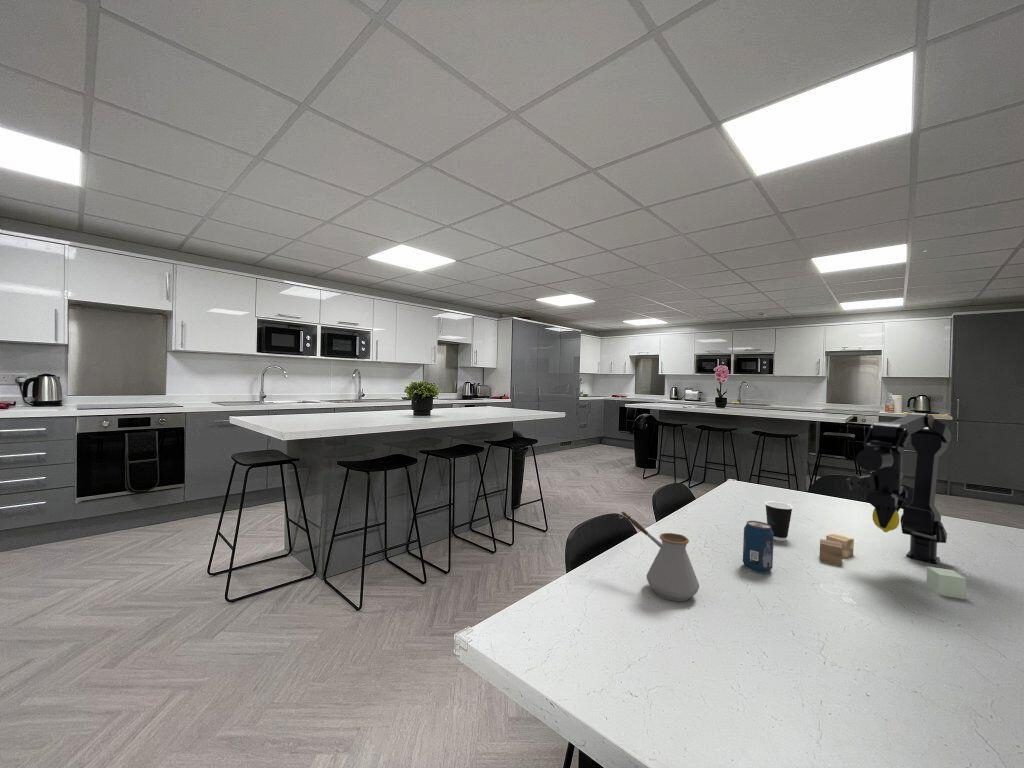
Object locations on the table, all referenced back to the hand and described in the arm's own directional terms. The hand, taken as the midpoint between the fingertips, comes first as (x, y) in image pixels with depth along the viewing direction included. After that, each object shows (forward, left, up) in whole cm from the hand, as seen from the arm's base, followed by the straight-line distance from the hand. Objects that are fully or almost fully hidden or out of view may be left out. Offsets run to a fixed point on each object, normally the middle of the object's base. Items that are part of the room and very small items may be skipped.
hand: (885, 525), depth 114 cm
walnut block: (+4, -11, -13) cm, 17 cm away
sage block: (+3, +12, -13) cm, 18 cm away
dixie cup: (-3, -27, -13) cm, 30 cm away
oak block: (-5, -11, -13) cm, 17 cm away
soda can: (+29, -21, -13) cm, 38 cm away
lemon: (0, 0, -2) cm, 2 cm away
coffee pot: (+61, -32, -13) cm, 70 cm away
